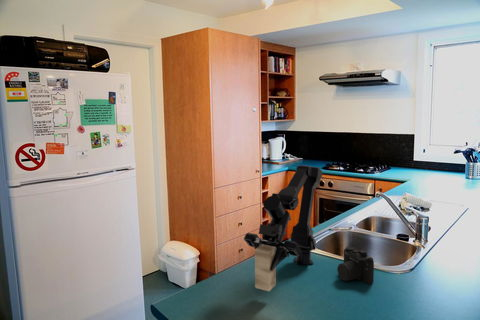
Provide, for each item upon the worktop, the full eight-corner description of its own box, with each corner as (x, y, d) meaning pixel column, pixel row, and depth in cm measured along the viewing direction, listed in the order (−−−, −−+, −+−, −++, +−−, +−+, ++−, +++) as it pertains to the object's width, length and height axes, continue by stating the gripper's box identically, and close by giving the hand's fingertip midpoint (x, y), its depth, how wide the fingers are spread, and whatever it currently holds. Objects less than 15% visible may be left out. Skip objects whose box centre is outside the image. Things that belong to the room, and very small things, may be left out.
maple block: (262, 281, 122) (262, 244, 120) (275, 284, 119) (275, 247, 117) (255, 287, 118) (254, 249, 116) (269, 291, 115) (268, 252, 113)
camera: (328, 272, 138) (328, 247, 137) (351, 267, 142) (351, 242, 141) (352, 288, 125) (353, 261, 124) (376, 283, 129) (377, 256, 128)
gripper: (246, 209, 123) (229, 252, 115) (297, 217, 114) (282, 264, 106) (257, 225, 131) (242, 266, 123) (306, 234, 121) (293, 278, 114)
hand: (263, 268), depth 116 cm, fingers closed on maple block, 5 cm apart
